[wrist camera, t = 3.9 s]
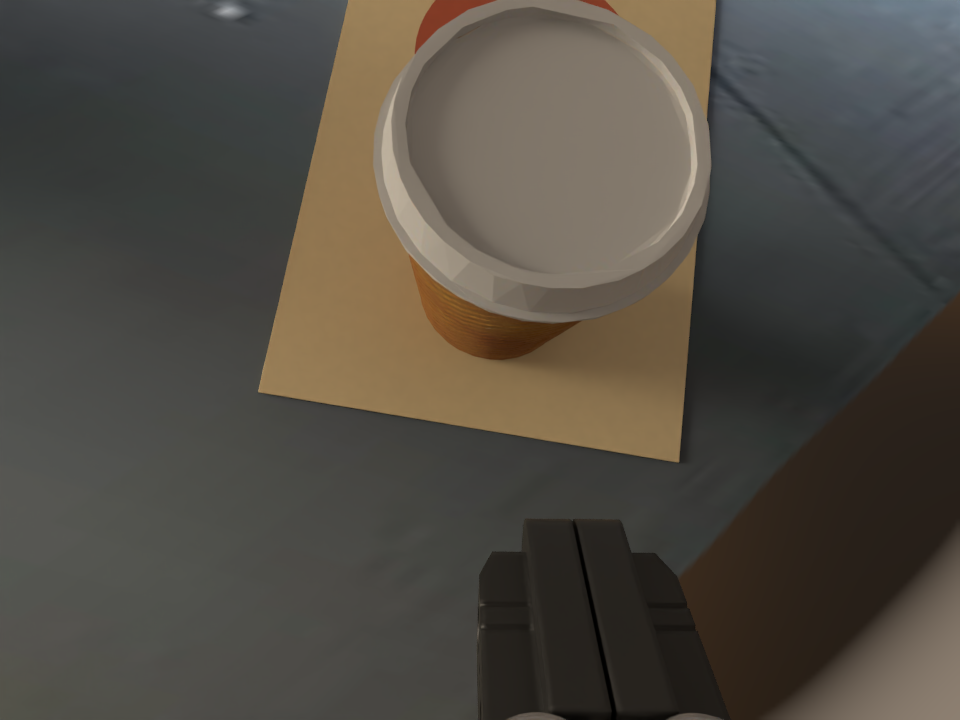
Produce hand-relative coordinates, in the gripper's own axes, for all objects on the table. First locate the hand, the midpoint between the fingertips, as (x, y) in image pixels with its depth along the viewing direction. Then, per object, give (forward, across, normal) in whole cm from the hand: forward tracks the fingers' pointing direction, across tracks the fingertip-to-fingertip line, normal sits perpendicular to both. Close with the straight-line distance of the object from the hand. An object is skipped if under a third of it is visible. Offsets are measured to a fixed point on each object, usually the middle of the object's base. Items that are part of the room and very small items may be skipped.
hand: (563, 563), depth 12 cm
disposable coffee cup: (+20, 0, +3) cm, 20 cm away
